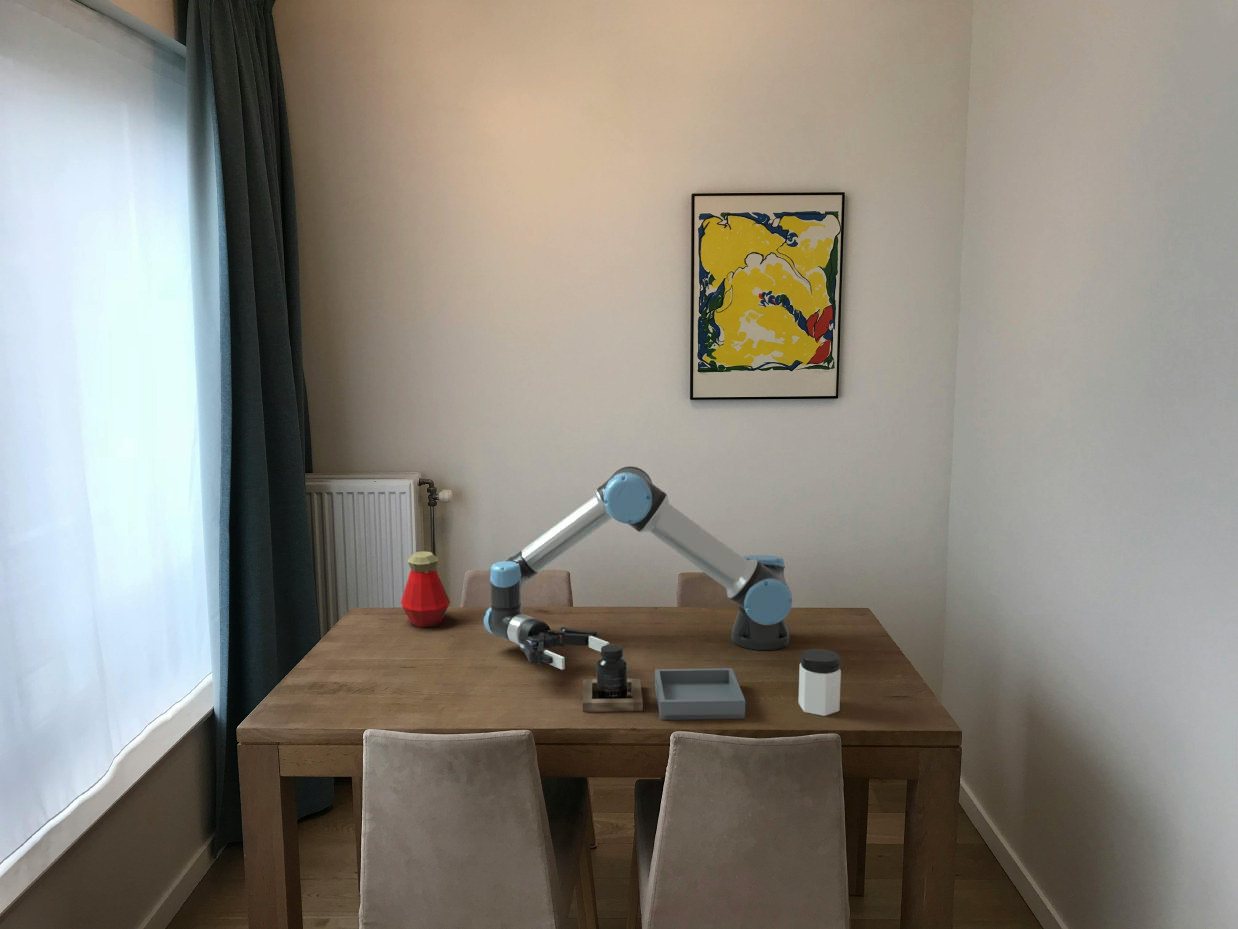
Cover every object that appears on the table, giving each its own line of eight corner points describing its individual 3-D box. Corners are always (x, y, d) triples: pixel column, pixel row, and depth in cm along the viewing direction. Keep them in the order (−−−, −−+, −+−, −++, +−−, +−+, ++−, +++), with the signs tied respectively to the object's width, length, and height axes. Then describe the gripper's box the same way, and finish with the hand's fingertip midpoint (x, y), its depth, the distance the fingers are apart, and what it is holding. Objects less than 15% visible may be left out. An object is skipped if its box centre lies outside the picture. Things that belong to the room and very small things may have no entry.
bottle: (459, 625, 243) (457, 556, 240) (413, 634, 235) (410, 563, 232) (437, 611, 256) (435, 545, 253) (393, 619, 248) (390, 551, 245)
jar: (818, 719, 183) (819, 665, 181) (790, 706, 189) (792, 653, 188) (847, 709, 188) (849, 656, 186) (819, 696, 194) (821, 645, 193)
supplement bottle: (596, 693, 197) (595, 642, 195) (626, 692, 197) (625, 641, 195) (597, 706, 190) (597, 653, 188) (628, 704, 190) (628, 652, 189)
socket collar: (639, 686, 200) (639, 678, 200) (642, 711, 187) (642, 702, 187) (583, 687, 200) (583, 679, 199) (582, 711, 187) (582, 703, 187)
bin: (731, 684, 201) (732, 668, 200) (745, 718, 183) (745, 700, 183) (654, 685, 201) (654, 669, 200) (660, 719, 183) (660, 702, 182)
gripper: (568, 635, 222) (625, 657, 207) (488, 660, 205) (543, 686, 190) (568, 607, 221) (625, 627, 206) (487, 630, 204) (543, 654, 189)
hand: (586, 656), depth 198 cm, fingers open, 13 cm apart
